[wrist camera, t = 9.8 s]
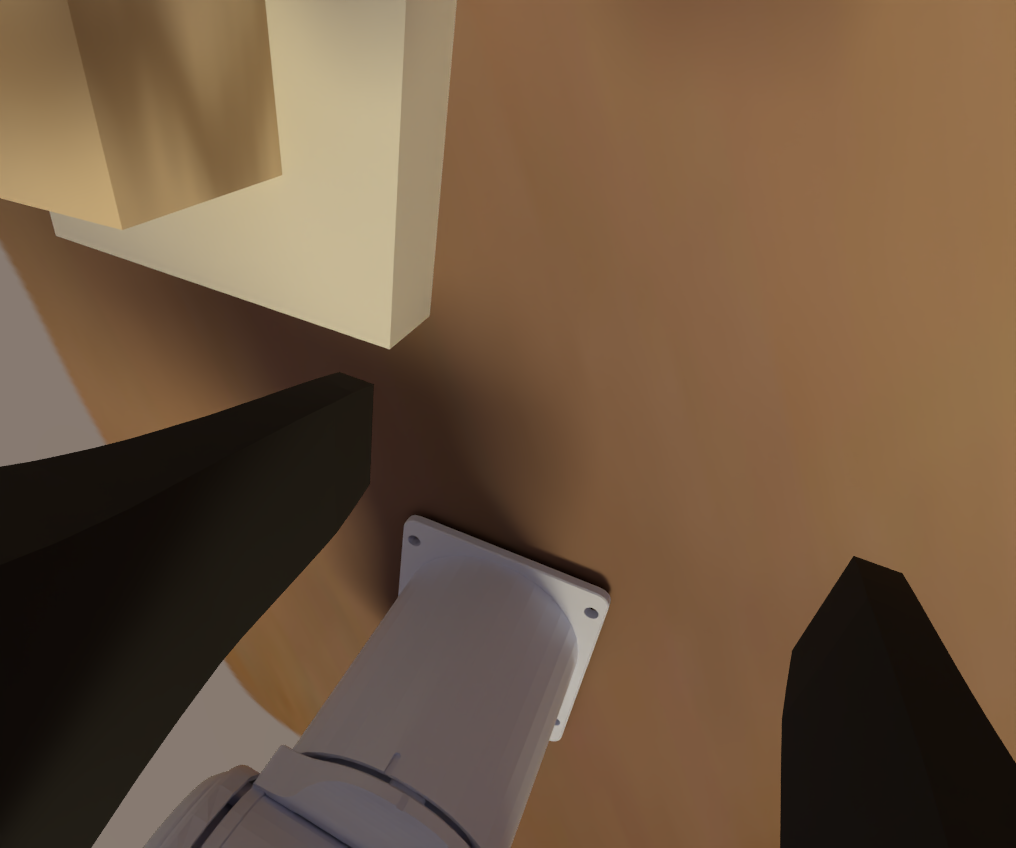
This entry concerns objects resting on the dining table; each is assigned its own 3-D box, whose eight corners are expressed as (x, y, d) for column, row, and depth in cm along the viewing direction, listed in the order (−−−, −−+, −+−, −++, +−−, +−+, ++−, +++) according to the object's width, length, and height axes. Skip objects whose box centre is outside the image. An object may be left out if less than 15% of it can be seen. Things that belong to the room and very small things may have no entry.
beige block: (437, 309, 21) (389, 349, 19) (131, 211, 24) (55, 235, 21) (485, -208, 14) (417, -246, 12) (43, -266, 17) (-84, -307, 14)
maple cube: (282, 175, 17) (122, 229, 13) (128, 141, 18) (-60, 182, 14) (258, -68, 14) (45, -90, 10) (77, -88, 16) (-173, -114, 12)
